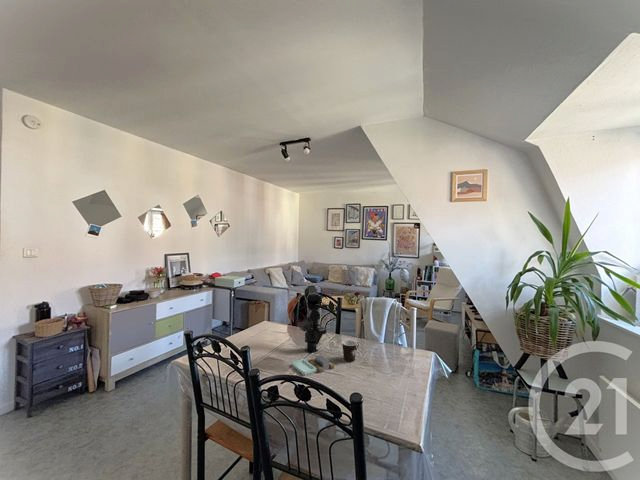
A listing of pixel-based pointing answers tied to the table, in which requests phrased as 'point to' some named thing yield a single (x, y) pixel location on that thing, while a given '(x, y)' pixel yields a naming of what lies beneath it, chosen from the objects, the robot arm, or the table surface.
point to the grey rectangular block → (322, 362)
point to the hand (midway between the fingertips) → (313, 342)
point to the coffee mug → (349, 350)
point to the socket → (320, 366)
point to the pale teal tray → (304, 367)
